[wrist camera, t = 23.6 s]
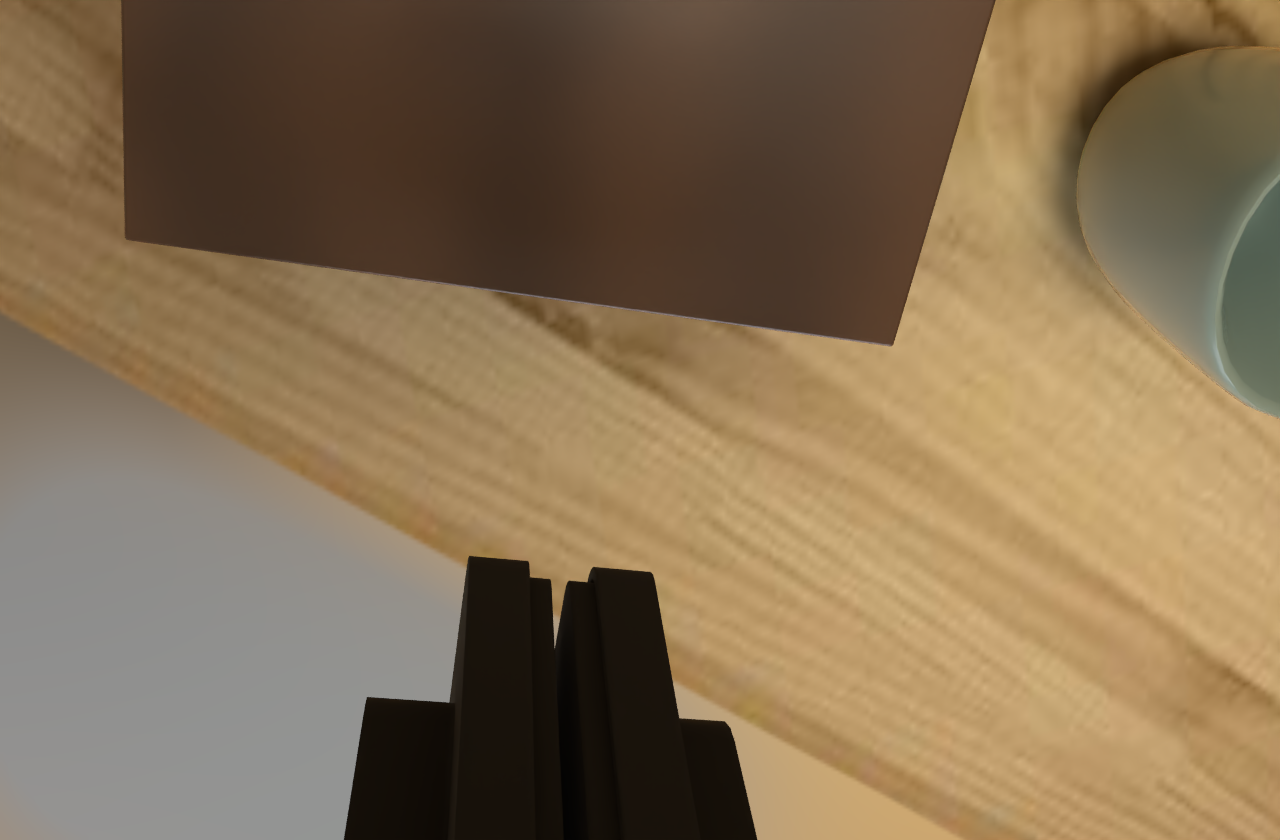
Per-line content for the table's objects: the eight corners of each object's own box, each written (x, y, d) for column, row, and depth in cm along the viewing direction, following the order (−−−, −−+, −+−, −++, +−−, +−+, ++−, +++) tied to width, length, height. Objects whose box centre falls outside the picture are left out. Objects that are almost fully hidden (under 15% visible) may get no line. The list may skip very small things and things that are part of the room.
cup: (1325, 12, 34) (1606, 90, 25) (1266, 272, 38) (1494, 419, 29) (1056, 25, 33) (1246, 108, 25) (1023, 286, 37) (1179, 441, 28)
